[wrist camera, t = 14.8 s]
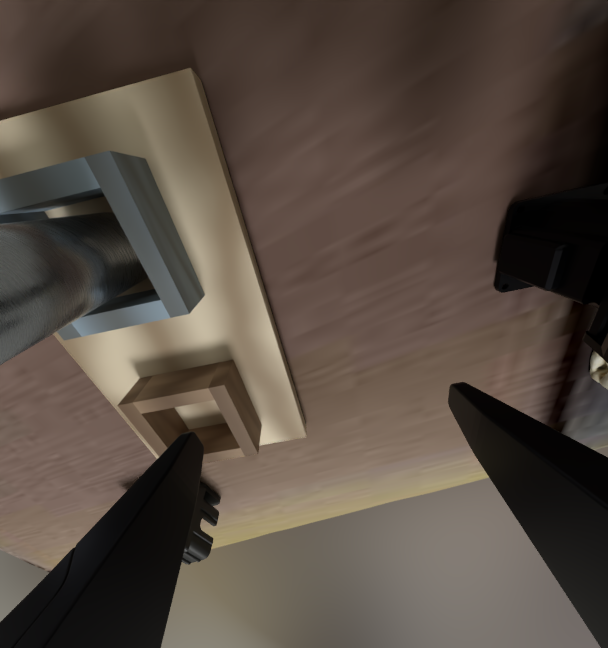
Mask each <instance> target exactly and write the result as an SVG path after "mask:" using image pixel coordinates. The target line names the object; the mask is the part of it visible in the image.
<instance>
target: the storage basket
mask: <svg viewBox="0 0 608 648" xmlns="http://www.w3.org/2000/svg"><path fill="white" fill-rule="evenodd" d="M598 367H599V369H598ZM590 375H591V377H592V379H594V380H595V381H597V382H599V383H600V384H601V385H602V386H604V387H605V388H606V389H608V363H607V362H606V361H605V360H604V359H603V358H602V357H601V356H599V355H598V354H597V353H596V352H595V351H593V352H592V356H591V360H590Z"/></svg>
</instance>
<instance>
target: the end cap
mask: <svg viewBox="0 0 608 648" xmlns="http://www.w3.org/2000/svg"><path fill="white" fill-rule="evenodd" d="M220 499H221V498H220V496H218V495H217V494H216V493H215V492H214V491H213V490H211V489H210V488H209V487H208V486H207V485H205V484H203V483H199V489H198V495H197V500H196V505H195V509H194V513H193V517H192V521H191V525H190V529H189V534H188V538H187V542H186V546H185V550H184V554H183V558H182V562H183V563H185V564H190V563H192V562H196V561H197V562H200V561H201V560H203V559H205V558H207V557H208V555H209V554H210V551H211V547H212V543H213V538H212V537H210V536H209V535H208V534H206V533H205V532H203V531H202V530H201V528H200V522H201V519H202V518H203V519H204V520H206V521H207V522H208V523H210V524H211V525H213V526H216V525H217V521H218V516H219V511H218V510H217V509H215V508H214V507H213V506H214V505H218V504H219V503H220Z"/></svg>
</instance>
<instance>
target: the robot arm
mask: <svg viewBox="0 0 608 648" xmlns="http://www.w3.org/2000/svg"><path fill="white" fill-rule="evenodd" d="M604 190H605V191H604ZM519 207H520V210H519V211H518V212H517V209H518V208H519ZM503 285H504V286H503ZM502 286H503V287H502ZM533 286H535V287H538V288H540V289H543V290H545V291H551V292H553V293H556V294H558V295H561V296H564V297H566V298H569V299H571V300H574V301H576V302H579V303H582V304H589V305H592V306H594V307H597V308H598V309H597V312H596V314H595V317H594V319H593V321H592V324H591V326H590V328H589V331H586V332H585V335H584V337H583V341H584V342H585V343H586V344H588V345H589V346H590V347H591V348H592V349H593V350H594V351H595V352H596V353H597V354H598V355H599V356H601V357H602V358H603V359H604V360H605V361H606V362H607V363H608V182H603V183H598V184H594V185H589V186H585V187H580V188H576V189H571V190H567V191H562V192H558V193H553V194H549V195H544V196H540V197H535V198H531V199H526V200H522V201H517V202H515V203H514V204H512V205H511V207H510V208H509V211H508V216H507V222H506V227H505V233H504V238H503V244H502V249H501V255H500V260H499V266H498V271H497V277H496V282H495V289H496V290H497V291H499V292H508V291H513V290H518V289H523V288H528V287H533ZM448 404H449V407H450V409H451V411H452V413H453V415H454V417H455V419H456V421H457V423H458V425H459V426H460V428H461V430H462V432H463V434H464V436H465V438H466V440H467V442H468V444H469V446H470V447H471V449H472V451H473V453H474V454H475V456H476V458H477V459H478V461H479V462H480V464H481V465H482V467H483V468H484V470H485V471H486V473H487V474H488V476H489V478H490V479H491V481H492V482H493V484H494V485H495V486H496V488H497V489H498V491H499V493H500V494H501V496H502V497H503V499H504V500H505V502H506V503H507V505H508V506H509V508H510V509H511V511H512V513H513V514H514V516H515V517H516V519H517V520H518V521H519V523H520V525H521V526H522V528H523V529H524V531H525V532H526V534H527V535H528V537H529V539H530V540H531V542H532V543H533V545H534V546H535V548H536V549H537V551H538V552H539V554H540V555H541V557H542V558H543V560H544V561H545V563H546V564H547V566H548V568H549V569H550V571H551V572H552V574H553V575H554V576H555V578H556V580H557V581H558V583H559V584H560V586H561V587H562V589H563V590H564V592H565V593H566V595H567V596H568V598H569V600H570V601H571V603H572V604H573V605H574V607H575V609H576V610H577V612H578V613H579V615H580V616H581V618H582V619H583V621H584V622H585V624H586V625H587V627H588V629H589V630H590V631H591V633H592V635H593V636H594V638H595V639H596V641H597V642H598V644H599V645H600V647H601V648H608V457H606V456H604V455H602V454H600V453H598V452H596V451H594V450H592V449H591V448H589V447H587V446H585V445H583V444H581V443H579V442H577V441H575V440H573V439H572V438H570V437H568V436H566V435H564V434H562V433H560V432H558V431H556V430H554V429H553V428H551V427H549V426H547V425H545V424H543V423H541V422H539V421H537V420H535V419H534V418H532V417H530V416H528V415H526V414H524V413H522V412H520V411H518V410H516V409H515V408H513V407H511V406H509V405H507V404H505V403H503V402H501V401H499V400H497V399H496V398H494V397H492V396H490V395H488V394H486V393H484V392H482V391H480V390H478V389H477V388H475V387H473V386H471V385H469V384H467V383H464V382H460V383H454V384H451V385H450V389H449V398H448ZM203 456H204V446H203V444H202V442H201V441H200V439H199V438H198V436H197V435H196V433H195V432H193V431H191V432H185V433H182V434H181V435H180V436H179V437H178V438H177V439H176V440H175V441H174V442H173V443H172V444H171V445H170V446H169V447H168V448H167V449H166V450H165V451H164V452H163V453H162V455H161V456H160V457H159V458H158V459H157V460H156V461H155V462H154V463H153V464H152V465H151V466H150V467H149V468H148V469H147V470H146V471H145V473H144V474H143V475H142V476H141V477H140V478H139V479H138V480H137V481H136V482H135V483H134V484H133V485H132V486H131V487H130V488H129V489H128V491H127V492H126V493H125V494H124V495H123V496H122V497H121V498H120V499H119V500H118V501H117V502H116V503H115V504H114V505H113V506H112V507H111V509H110V510H109V511H108V512H107V513H106V514H105V515H104V516H103V517H102V518H101V519H100V520H99V521H98V522H97V523H96V524H95V525H94V527H93V528H92V529H91V530H90V531H89V532H88V533H87V534H86V535H85V536H84V537H83V538H82V539H81V540H80V541H79V542H78V543H77V545H76V547H75V548H73V549H72V550H71V551H70V552H69V553H68V554H67V555H66V556H65V557H64V558H63V559H62V560H61V561H60V562H59V563H58V564H57V566H56V567H55V568H54V569H53V570H52V571H51V572H50V573H49V574H48V575H47V576H46V577H45V578H44V579H43V580H42V581H41V582H40V583H39V584H38V585H37V586H36V587H35V588H34V589H33V590H32V591H31V592H30V593H29V595H27V596H26V597H25V598H24V599H23V600H22V601H21V602H20V603H19V604H18V605H17V606H16V607H15V608H14V609H13V610H12V611H11V612H10V613H9V614H8V615H7V616H6V617H5V618H4V619H3V620H2V621H1V622H0V648H161V644H162V639H163V636H164V632H165V628H166V623H167V619H168V615H169V611H170V607H171V603H172V598H173V594H174V591H175V586H176V583H177V578H178V574H179V570H180V566H181V562H182V558H183V554H184V550H185V546H186V542H187V538H188V534H189V529H190V525H191V521H192V517H193V513H194V509H195V505H196V500H197V495H198V489H199V483H200V476H201V469H202V462H203Z"/></svg>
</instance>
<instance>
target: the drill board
mask: <svg viewBox="0 0 608 648" xmlns="http://www.w3.org/2000/svg"><path fill="white" fill-rule="evenodd" d="M101 212H111V213H114V214H115V215H116V217H117V219H118V221H119V223H120V225H121V227H122V229H123V230H124V232H125V234H126V236H127V238H128V240H129V242H130V243H131V245H132V247H133V249H134V251H135V253H136V255H137V256H138V258H139V260H140V262H141V264H142V266H143V268H144V269H145V271H146V273H147V275H148V278H147V279H145V280H143V281H142V282H140V283H138V284H137V285H135V286H133V287H132V288H130V289H128V290H126V291H125V292H123V293H121V294H120V295H118V296H116V297H115V298H113V299H111V300H110V301H108V302H106V303H104V304H103V305H101V306H99V307H98V308H96V309H94V310H93V311H91V312H89V313H88V314H86V315H84V316H82V317H81V318H79V319H77V320H76V321H74V322H72V323H71V324H69V325H67V326H65V327H64V328H62V329H60V330H59V331H57V332H55V333H54V336H55V337H56V338H57V339H58V340H59V342H60V343H61V344H62V345H63V346H64V348H65V349H66V350H67V351H68V352H69V354H70V355H71V356H72V357H73V358H74V360H75V361H76V362H77V363H78V364H79V366H80V367H81V368H82V369H83V370H84V372H85V373H86V374H87V375H88V376H89V378H90V379H91V380H92V381H93V382H94V384H95V385H96V386H97V387H98V388H99V390H100V391H101V392H102V393H103V394H104V396H105V397H106V398H107V399H108V401H109V402H110V403H111V404H112V405H113V407H114V408H115V409H116V410H117V411H118V413H119V414H120V415H121V416H122V417H123V419H124V420H125V421H126V422H127V423H128V425H129V426H130V427H131V428H132V429H133V431H134V432H135V433H136V434H137V435H138V437H139V438H140V439H141V440H142V441H143V443H144V444H145V445H146V446H147V447H148V449H149V450H150V451H151V452H152V453H153V455H154V456H155V457H156V458H157V459H158V458H159V457H160V456H161V455H162V453H163V452H164V451H165V450H166V449H167V448H168V447H169V446H170V445H171V444H172V443H173V442H174V441H175V440H176V439H177V438H178V437H179V436H180V435H181V434H182V433H185V432H191V431H193V432H195V433H196V435H197V436H198V438H199V439H200V441H201V442H202V444H203V446H204V456H203V462H202V464H204V463H209V462H215V461H221V460H227V459H233V458H239V457H244V456H250V455H256V454H258V451H259V445H264V444H270V443H276V442H282V441H287V440H293V439H299V438H305V437H307V435H306V423H305V420H304V417H303V414H302V410H301V407H300V404H299V400H298V397H297V394H296V391H295V387H294V384H293V381H292V377H291V374H290V371H289V368H288V364H287V361H286V358H285V355H284V351H283V348H282V345H281V341H280V338H279V335H278V332H277V328H276V325H275V322H274V318H273V315H272V312H271V309H270V305H269V302H268V299H267V295H266V292H265V289H264V286H263V282H262V279H261V276H260V273H259V269H258V266H257V263H256V259H255V256H254V253H253V250H252V246H251V243H250V240H249V236H248V233H247V230H246V227H245V223H244V220H243V217H242V213H241V210H240V207H239V204H238V200H237V197H236V194H235V191H234V187H233V184H232V181H231V177H230V174H229V171H228V168H227V164H226V161H225V158H224V154H223V151H222V148H221V145H220V141H219V138H218V135H217V131H216V128H215V125H214V122H213V118H212V115H211V112H210V109H209V105H208V102H207V99H206V95H205V92H204V89H203V86H202V82H201V80H200V79H199V77H198V76H197V75H196V74H195V72H194V71H193V70H192V69H191V68H188V69H184V70H181V71H177V72H173V73H170V74H166V75H163V76H159V77H156V78H152V79H148V80H145V81H141V82H138V83H134V84H130V85H127V86H123V87H120V88H116V89H112V90H109V91H105V92H102V93H98V94H94V95H91V96H87V97H84V98H80V99H77V100H73V101H69V102H66V103H62V104H59V105H55V106H51V107H48V108H44V109H41V110H37V111H33V112H30V113H26V114H23V115H19V116H15V117H12V118H8V119H5V120H1V121H0V224H4V223H13V222H22V221H30V220H39V219H48V218H57V217H66V216H75V215H84V214H92V213H101Z"/></svg>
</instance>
